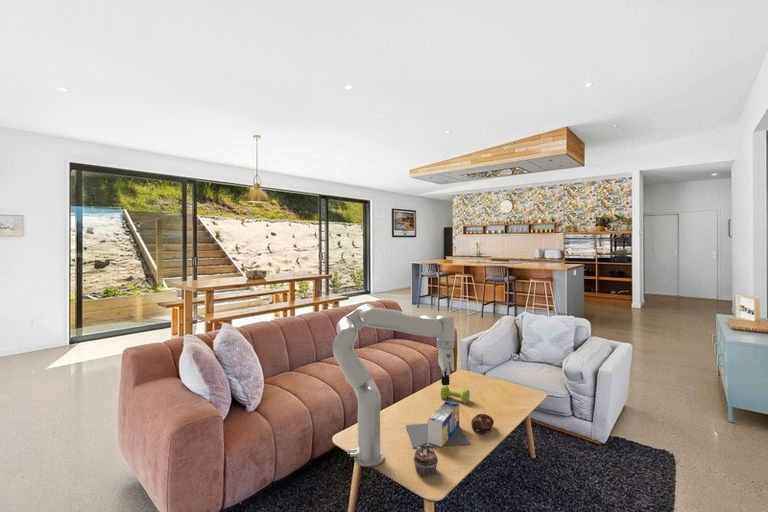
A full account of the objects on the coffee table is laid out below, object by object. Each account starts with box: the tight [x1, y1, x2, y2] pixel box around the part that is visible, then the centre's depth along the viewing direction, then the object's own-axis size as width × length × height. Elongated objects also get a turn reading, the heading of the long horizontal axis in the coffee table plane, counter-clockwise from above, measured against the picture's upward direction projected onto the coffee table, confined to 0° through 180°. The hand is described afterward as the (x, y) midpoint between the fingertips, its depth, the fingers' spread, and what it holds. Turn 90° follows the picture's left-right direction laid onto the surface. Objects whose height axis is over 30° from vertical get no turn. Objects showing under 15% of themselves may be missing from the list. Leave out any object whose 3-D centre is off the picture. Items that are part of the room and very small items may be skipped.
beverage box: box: [427, 400, 460, 448], centre depth 177 cm, size 7×11×22 cm
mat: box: [405, 423, 471, 450], centre depth 177 cm, size 26×20×1 cm
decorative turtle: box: [470, 413, 495, 435], centre depth 181 cm, size 10×15×8 cm, turn 138°
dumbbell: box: [439, 385, 471, 405], centre depth 215 cm, size 16×8×7 cm, turn 61°
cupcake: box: [413, 443, 439, 478], centre depth 150 cm, size 10×10×10 cm
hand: (445, 384), depth 165 cm, fingers closed
